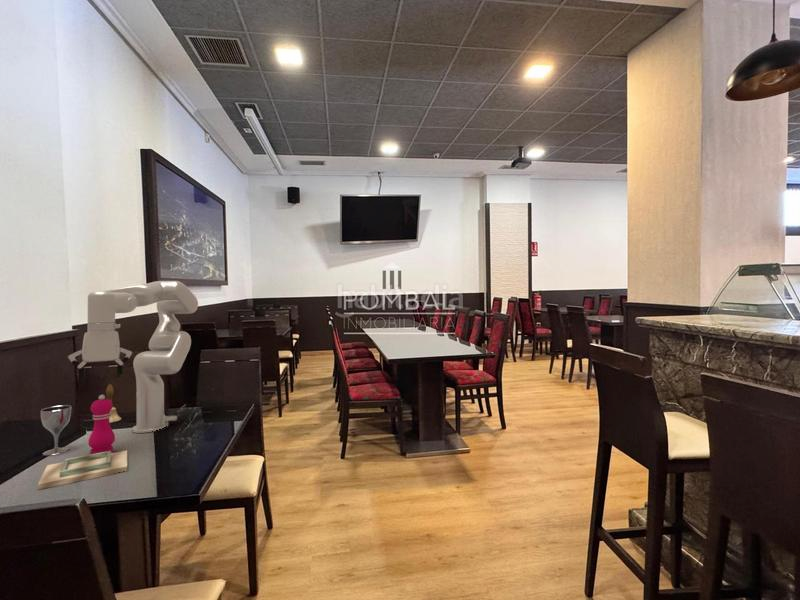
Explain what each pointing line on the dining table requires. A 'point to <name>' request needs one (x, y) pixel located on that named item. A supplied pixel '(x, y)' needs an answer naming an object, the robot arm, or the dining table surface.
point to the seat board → (83, 468)
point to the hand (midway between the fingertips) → (101, 378)
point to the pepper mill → (101, 427)
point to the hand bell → (114, 414)
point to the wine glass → (55, 424)
